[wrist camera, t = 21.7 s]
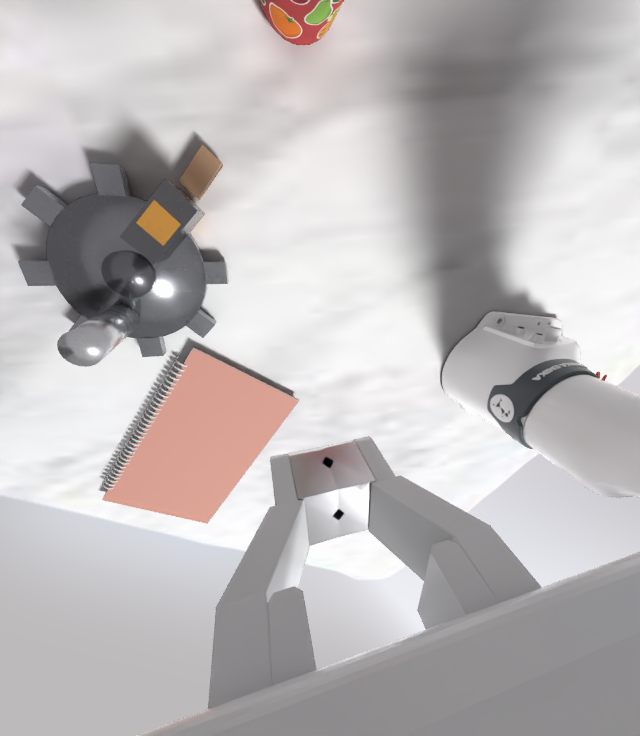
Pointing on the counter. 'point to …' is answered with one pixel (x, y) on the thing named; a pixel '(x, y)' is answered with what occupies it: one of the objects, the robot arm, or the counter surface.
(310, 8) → the smoothie
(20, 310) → the counter surface
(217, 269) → the sprocket
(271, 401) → the notebook
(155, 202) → the grey and orange block
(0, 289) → the counter surface
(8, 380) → the counter surface
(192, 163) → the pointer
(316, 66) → the counter surface
